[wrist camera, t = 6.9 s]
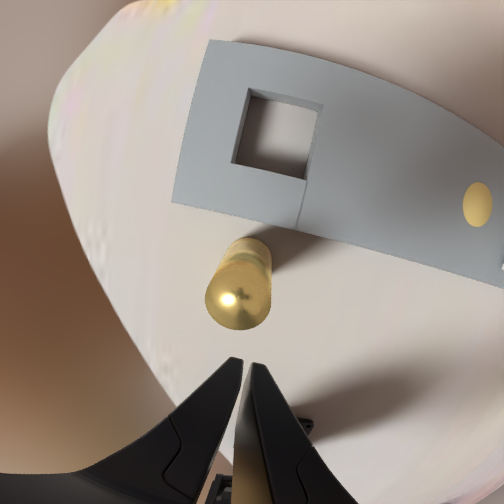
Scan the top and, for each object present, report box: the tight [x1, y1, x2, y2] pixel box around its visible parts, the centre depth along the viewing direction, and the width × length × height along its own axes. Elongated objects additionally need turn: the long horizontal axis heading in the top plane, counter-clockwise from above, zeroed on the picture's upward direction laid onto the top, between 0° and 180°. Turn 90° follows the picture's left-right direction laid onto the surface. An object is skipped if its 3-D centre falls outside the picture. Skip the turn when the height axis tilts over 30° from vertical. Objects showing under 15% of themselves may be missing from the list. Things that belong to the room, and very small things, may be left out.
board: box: [171, 40, 504, 289], centre depth 15 cm, size 10×32×2 cm, turn 78°
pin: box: [205, 237, 272, 330], centre depth 16 cm, size 3×3×6 cm
